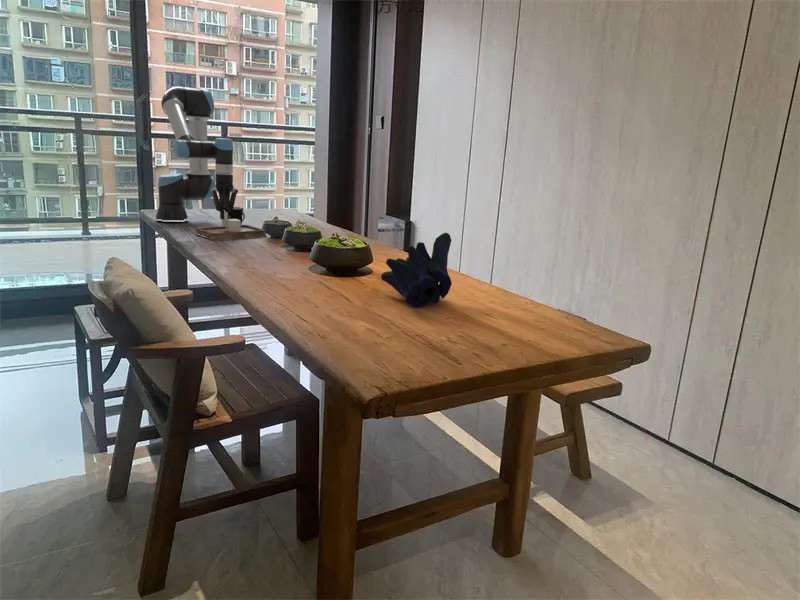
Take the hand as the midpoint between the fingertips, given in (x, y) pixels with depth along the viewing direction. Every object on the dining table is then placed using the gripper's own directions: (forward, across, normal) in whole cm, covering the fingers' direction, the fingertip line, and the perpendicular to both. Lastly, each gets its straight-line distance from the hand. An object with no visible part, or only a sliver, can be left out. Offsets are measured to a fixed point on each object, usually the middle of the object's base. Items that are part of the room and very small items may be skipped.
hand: (224, 226), depth 284 cm
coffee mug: (+4, +12, +12) cm, 18 cm away
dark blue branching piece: (+4, -3, -126) cm, 126 cm away
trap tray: (+4, +2, -3) cm, 5 cm away
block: (+2, +3, -2) cm, 4 cm away
